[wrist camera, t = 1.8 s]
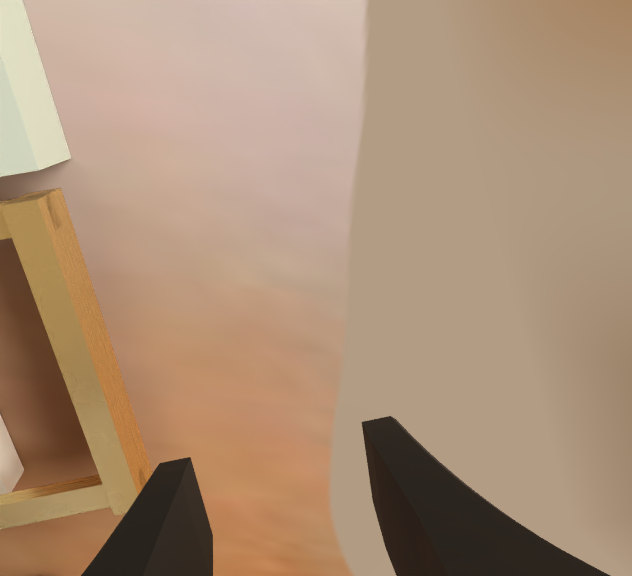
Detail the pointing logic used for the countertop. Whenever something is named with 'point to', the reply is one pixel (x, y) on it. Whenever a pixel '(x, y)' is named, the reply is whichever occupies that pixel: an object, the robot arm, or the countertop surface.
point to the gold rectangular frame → (74, 366)
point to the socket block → (8, 462)
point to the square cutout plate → (25, 99)
